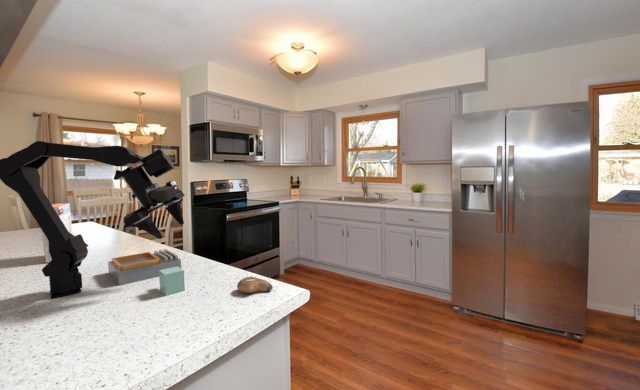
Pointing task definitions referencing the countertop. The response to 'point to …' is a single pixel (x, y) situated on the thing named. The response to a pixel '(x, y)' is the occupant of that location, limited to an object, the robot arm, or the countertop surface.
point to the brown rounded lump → (253, 285)
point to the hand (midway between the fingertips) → (172, 231)
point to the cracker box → (65, 217)
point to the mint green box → (171, 280)
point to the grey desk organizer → (141, 266)
